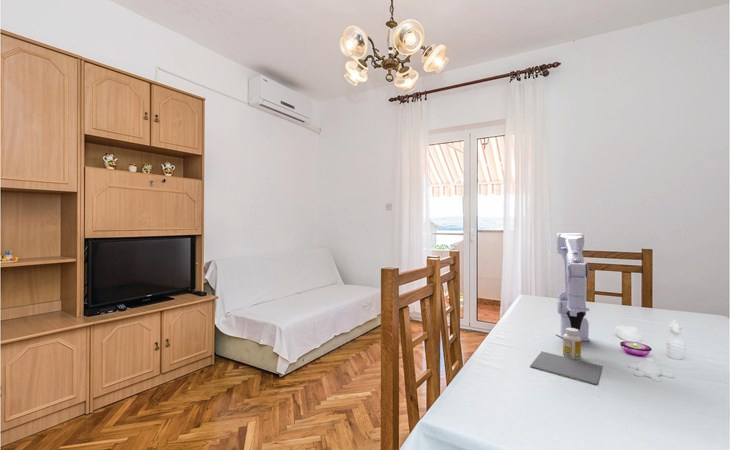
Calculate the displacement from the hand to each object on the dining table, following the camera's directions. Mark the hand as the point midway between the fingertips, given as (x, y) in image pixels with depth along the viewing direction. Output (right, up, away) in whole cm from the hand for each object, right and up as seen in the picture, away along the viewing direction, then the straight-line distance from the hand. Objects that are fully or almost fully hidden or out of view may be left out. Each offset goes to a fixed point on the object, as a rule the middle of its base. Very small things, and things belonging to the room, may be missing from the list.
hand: (575, 331), depth 123 cm
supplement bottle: (-5, -7, -6) cm, 11 cm away
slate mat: (-12, -7, -14) cm, 20 cm away
